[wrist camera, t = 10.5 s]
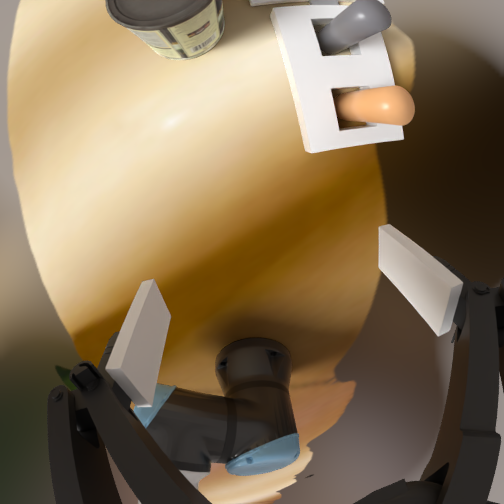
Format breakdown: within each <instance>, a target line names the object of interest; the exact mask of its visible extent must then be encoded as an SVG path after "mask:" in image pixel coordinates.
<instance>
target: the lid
mask: <svg viewBox="0 0 504 504" xmlns="http://www.w3.org/2000/svg"><path fill="white" fill-rule="evenodd" d="M308 1H309V4H310V5H339V3H338V2H355V1H356V0H249V2H250V5H251V7H252V6H259V5H267V4H276V3H288V2H308ZM378 1H380V2H381V3H382V4H385V3H384V0H378Z"/></svg>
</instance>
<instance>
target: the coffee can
mask: <svg viewBox="0 0 504 504" xmlns="http://www.w3.org/2000/svg"><path fill="white" fill-rule="evenodd" d="M106 8H107V12H108V13H109V15H110V17H111V18H112V19H113V20H114V21H115V22H117V23H118V24H120V25H122V26H124V27H126V28H127V29H129V30H130V31H131V32H132V33H134V34H135V35H136V36H138V37H139V38H140V39H141V40H142V41H144V42H145V43H146V44H147V45H149V46H150V47H151V48H152V49H153V50H154V51H155V52H156V53H157V54H159V55H160V56H162V57H165V58H167V59H172V60H187V59H192V58H195V57H198V56H200V55H202V54H204V53H206V52H207V51H209V50H210V49H211V48H213V47H214V46H215V45H216V44H217V42H218V41H219V40H220V38H221V37H222V34H223V32H224V27H225V21H224V15H223V4H222V0H106Z"/></svg>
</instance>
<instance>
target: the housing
mask: <svg viewBox="0 0 504 504" xmlns="http://www.w3.org/2000/svg"><path fill="white" fill-rule="evenodd" d="M347 7H348V6H344V5H302V6H286V7H275V8H273V9H272V12H271V14H270V18H271V21H272V24H273V27H274V31H275V34H276V37H277V40H278V44H279V47H280V50H281V54H282V57H283V61H284V64H285V68H286V72H287V75H288V79H289V83H290V87H291V91H292V95H293V99H294V103H295V107H296V111H297V116H298V120H299V124H300V129H301V133H302V138H303V143H304V148H305V151H307V152H309V153H316V152H321V151H327V150H332V149H338V148H344V147H350V146H357V145H363V144H370V143H378V142H385V141H394V140H403V139H404V137H403V129H402V126H399V125H391V124H382V123H371V122H366V123H367V125H364V126H356V127H348V128H341V129H339V126H338V121H337V116H336V111H335V106H334V102H333V97H332V93H331V90H334V89H345V88H360V90H365V89H371V88H379V87H387V86H395V83H394V78H393V74H392V70H391V66H390V62H389V58H388V54H387V50H386V47H385V43H384V40H383V37H382V33H381V32H379V33H377V34H374V35H372V36H370V37H368V38H366V39H364V40H362V41H360V42H358V43H356V44H354V45H352V46H350V47H349V48H350V52H351V55H337V56H322V54H321V51H320V47H319V44H318V40H317V37H316V34H315V31H314V28H313V25H327V24H328V23H329V22H330V21H331V20H333V19H334V18H335V17H336V16H337V15H338V14H340V13H341V12H342V11H343V10H345V9H346V8H347Z"/></svg>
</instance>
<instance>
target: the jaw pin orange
mask: <svg viewBox="0 0 504 504" xmlns="http://www.w3.org/2000/svg"><path fill="white" fill-rule="evenodd" d="M333 102H334V106H335V111H336V115H337V117H339V118H340V119H342V120H345V121H358V122H371V123H382V124H391V125H399V126H402V125H406V124H408V123H409V122H410V121H411V120H412V118H413V116H414V112H415V106H414V102H413V99H412V97H411V95H410V94H409V93H408V91H407V90H405V89H404V88H402V87H400V86H387V87H379V88H371V89H365V90H359V91H353V92H347V93H342V94H339V95H337V96H336V97H335V99H334V101H333Z"/></svg>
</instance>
